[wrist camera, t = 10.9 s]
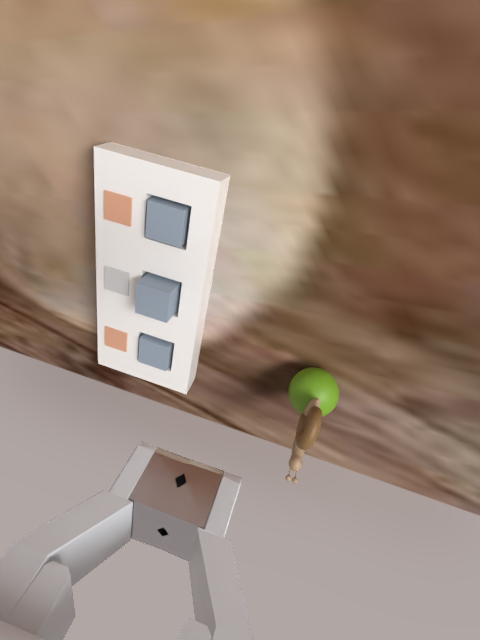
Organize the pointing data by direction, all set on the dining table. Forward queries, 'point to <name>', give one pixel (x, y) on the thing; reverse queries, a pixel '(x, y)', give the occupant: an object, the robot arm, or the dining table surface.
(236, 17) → the dining table surface
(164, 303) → the middle button
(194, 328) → the button panel
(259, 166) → the dining table surface
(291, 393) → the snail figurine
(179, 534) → the robot arm
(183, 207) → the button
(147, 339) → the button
